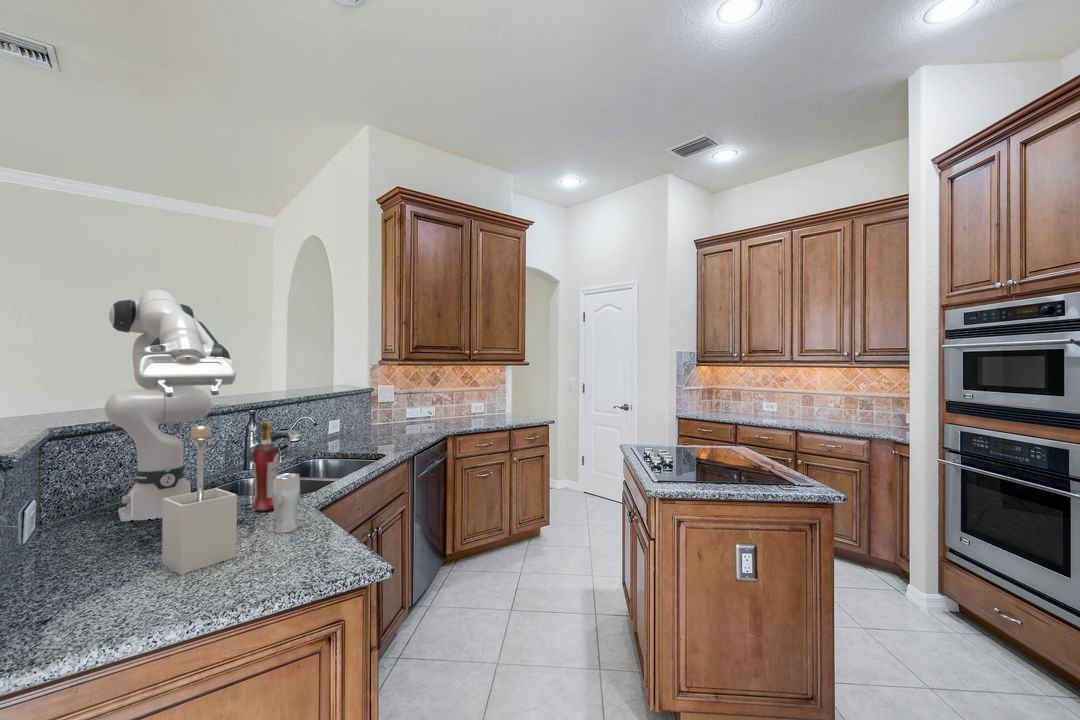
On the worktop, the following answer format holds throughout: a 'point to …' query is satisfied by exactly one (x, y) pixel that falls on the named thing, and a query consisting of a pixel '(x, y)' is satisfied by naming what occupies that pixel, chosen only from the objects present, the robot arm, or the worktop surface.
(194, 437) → the plunger
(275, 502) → the beer glass
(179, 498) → the beige open box
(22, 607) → the worktop surface
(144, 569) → the worktop surface
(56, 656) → the worktop surface
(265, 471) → the liquor
